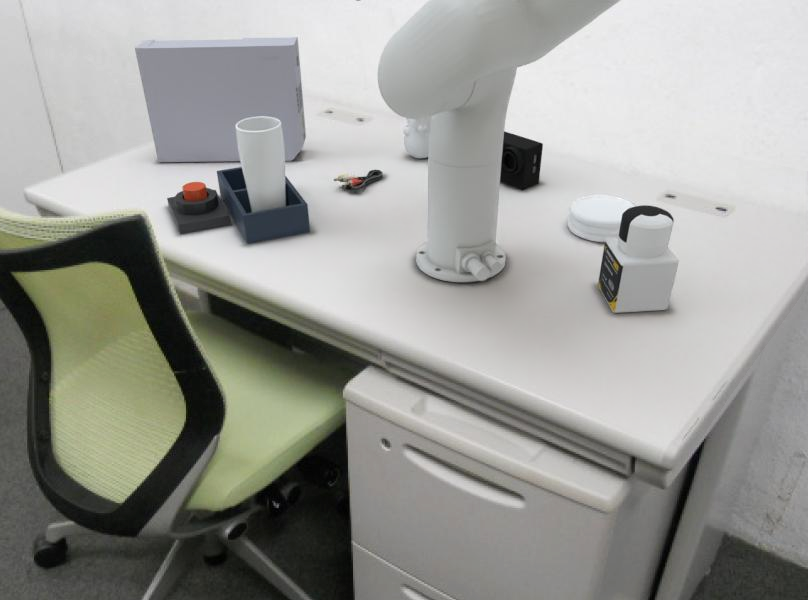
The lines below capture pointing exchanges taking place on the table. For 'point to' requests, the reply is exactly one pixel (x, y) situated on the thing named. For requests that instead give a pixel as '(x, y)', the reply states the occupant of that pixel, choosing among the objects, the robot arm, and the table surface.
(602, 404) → the table surface
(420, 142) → the figurine
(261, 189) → the drinking glass
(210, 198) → the control block
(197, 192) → the button
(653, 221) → the medicine bottle
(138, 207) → the table surface
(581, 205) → the round white container
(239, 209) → the divided tray
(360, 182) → the composite cable
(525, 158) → the digital camera
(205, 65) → the game console
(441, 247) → the robot arm
